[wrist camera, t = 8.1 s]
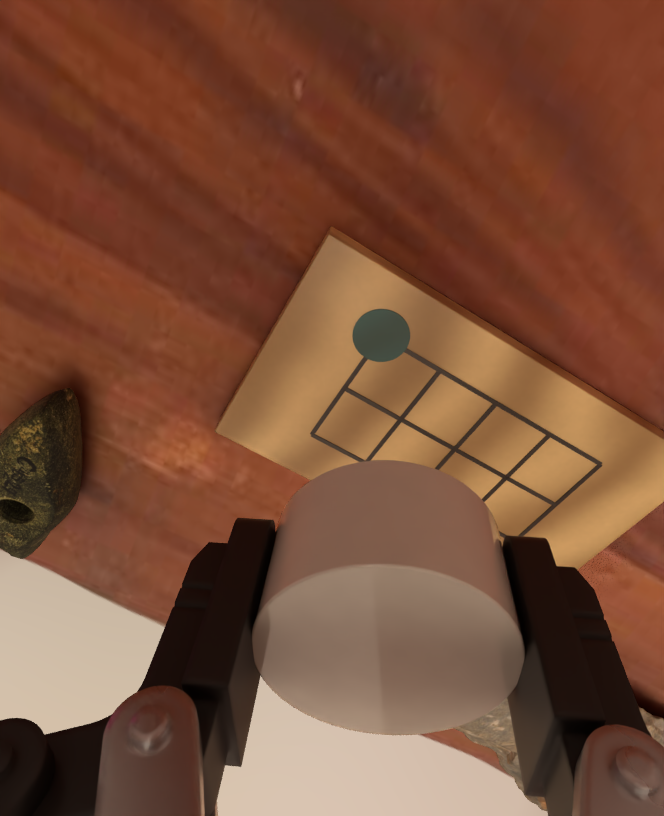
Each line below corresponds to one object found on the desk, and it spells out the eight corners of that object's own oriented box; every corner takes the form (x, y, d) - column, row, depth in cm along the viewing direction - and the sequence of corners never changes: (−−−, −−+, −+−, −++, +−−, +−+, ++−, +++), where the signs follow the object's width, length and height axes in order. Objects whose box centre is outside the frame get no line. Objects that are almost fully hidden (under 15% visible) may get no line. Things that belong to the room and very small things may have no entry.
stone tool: (705, 716, 40) (465, 560, 31) (744, 790, 36) (483, 636, 27) (554, 780, 45) (312, 664, 36) (574, 849, 41) (310, 739, 32)
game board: (220, 418, 28) (213, 432, 27) (331, 225, 23) (328, 233, 22) (537, 581, 32) (542, 599, 31) (696, 451, 27) (709, 467, 26)
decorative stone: (92, 541, 34) (57, 597, 30) (11, 522, 33) (-32, 576, 30) (96, 372, 27) (53, 418, 24) (-4, 346, 27) (-61, 389, 24)
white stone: (240, 566, 12) (207, 676, 10) (347, 419, 10) (335, 519, 8) (415, 646, 13) (419, 762, 11) (549, 527, 11) (588, 644, 9)
